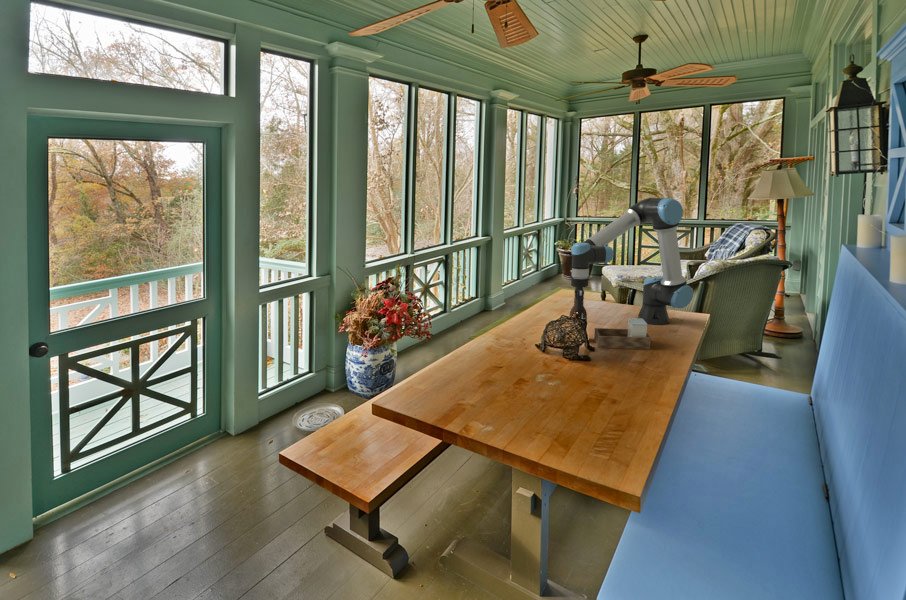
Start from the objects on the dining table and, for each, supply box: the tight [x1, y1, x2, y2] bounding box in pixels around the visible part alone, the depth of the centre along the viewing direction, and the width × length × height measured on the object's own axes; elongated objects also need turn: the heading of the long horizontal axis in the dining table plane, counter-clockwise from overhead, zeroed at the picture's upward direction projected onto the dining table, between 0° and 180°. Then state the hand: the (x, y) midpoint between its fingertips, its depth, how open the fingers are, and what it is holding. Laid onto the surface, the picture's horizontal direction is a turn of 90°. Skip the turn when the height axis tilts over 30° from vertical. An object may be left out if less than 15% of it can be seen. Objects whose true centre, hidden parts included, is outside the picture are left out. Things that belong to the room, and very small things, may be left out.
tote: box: [593, 327, 652, 350], centre depth 244 cm, size 22×14×5 cm, turn 82°
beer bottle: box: [569, 288, 588, 327], centre depth 249 cm, size 8×8×24 cm
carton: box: [627, 317, 649, 337], centre depth 243 cm, size 6×10×10 cm, turn 172°
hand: (577, 323), depth 250 cm, fingers open, 13 cm apart
